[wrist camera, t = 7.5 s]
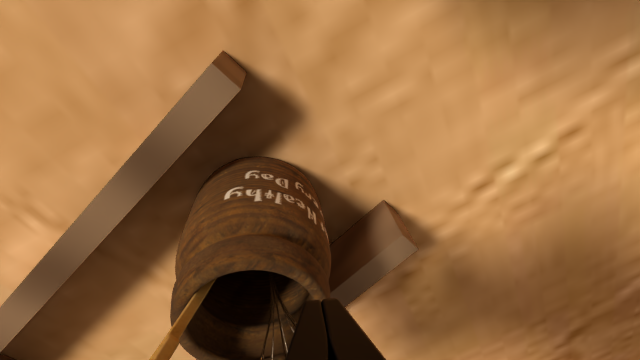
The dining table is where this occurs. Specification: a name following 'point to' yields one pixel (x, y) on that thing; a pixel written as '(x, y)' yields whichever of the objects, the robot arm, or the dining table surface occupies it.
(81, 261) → the tray
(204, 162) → the dining table surface
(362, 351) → the robot arm
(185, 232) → the utensil holder
